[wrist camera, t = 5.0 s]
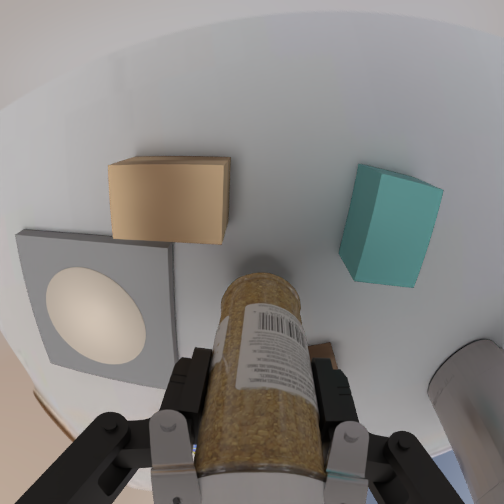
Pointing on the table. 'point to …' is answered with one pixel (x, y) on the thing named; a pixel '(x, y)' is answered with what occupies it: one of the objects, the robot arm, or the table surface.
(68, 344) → the slate board
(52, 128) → the table surface
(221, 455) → the sprinkles bottle
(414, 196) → the teal block
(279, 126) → the table surface
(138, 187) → the oak block
